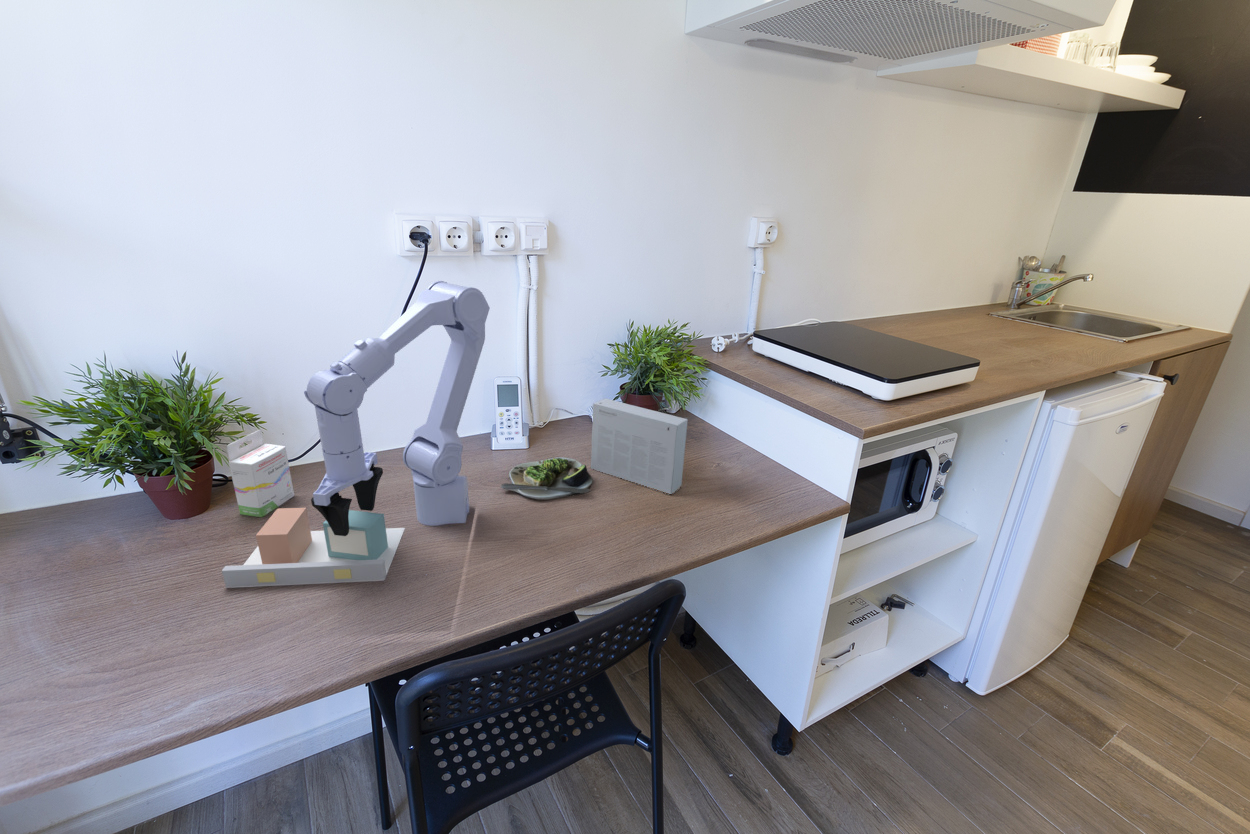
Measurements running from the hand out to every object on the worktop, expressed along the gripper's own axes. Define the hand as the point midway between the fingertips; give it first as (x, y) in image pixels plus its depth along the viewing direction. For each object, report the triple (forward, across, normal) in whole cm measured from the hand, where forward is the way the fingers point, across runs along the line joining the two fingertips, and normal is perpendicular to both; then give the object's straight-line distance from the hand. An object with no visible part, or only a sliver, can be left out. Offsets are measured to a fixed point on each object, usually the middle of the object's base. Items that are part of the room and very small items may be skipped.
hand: (354, 521), depth 96 cm
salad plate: (+8, +32, -25) cm, 42 cm away
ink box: (+7, +11, +25) cm, 28 cm away
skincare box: (+8, +38, -42) cm, 58 cm away
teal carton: (+6, 0, 0) cm, 6 cm away
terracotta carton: (+6, -3, +11) cm, 13 cm away
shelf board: (+7, -2, +5) cm, 9 cm away
